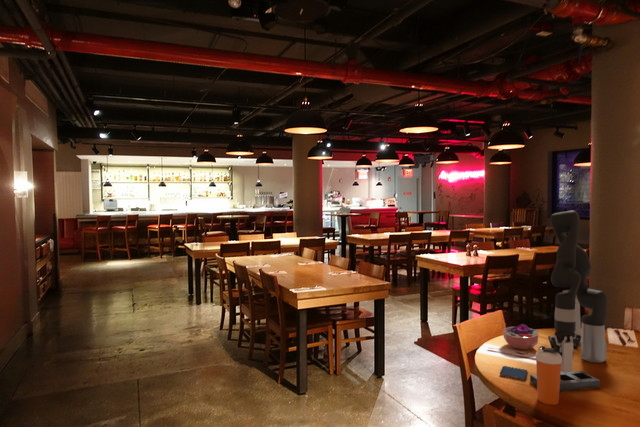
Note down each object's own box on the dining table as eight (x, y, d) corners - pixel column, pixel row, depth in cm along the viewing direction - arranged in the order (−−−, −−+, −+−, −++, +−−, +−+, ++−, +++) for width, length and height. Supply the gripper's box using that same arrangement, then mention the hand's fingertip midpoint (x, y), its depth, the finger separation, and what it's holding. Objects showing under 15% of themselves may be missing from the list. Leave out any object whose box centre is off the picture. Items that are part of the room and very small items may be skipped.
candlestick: (590, 338, 235) (591, 283, 234) (591, 345, 224) (592, 287, 223) (563, 334, 241) (564, 281, 240) (563, 341, 230) (563, 285, 229)
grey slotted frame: (580, 377, 184) (581, 370, 184) (599, 387, 174) (599, 380, 174) (530, 381, 180) (530, 374, 180) (546, 392, 170) (546, 385, 170)
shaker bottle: (560, 408, 158) (561, 354, 157) (533, 402, 162) (534, 350, 162) (562, 398, 165) (562, 347, 164) (536, 393, 170) (536, 343, 169)
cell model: (495, 348, 221) (495, 326, 220) (512, 339, 234) (512, 318, 234) (529, 356, 208) (529, 333, 208) (545, 347, 222) (546, 325, 221)
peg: (565, 367, 179) (565, 339, 179) (572, 371, 175) (572, 342, 175) (556, 368, 179) (557, 340, 178) (563, 372, 175) (564, 343, 174)
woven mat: (526, 382, 180) (526, 378, 180) (499, 377, 186) (499, 373, 186) (528, 373, 189) (528, 369, 189) (502, 369, 195) (502, 364, 195)
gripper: (573, 315, 181) (573, 355, 182) (543, 317, 179) (542, 358, 179) (587, 320, 174) (586, 362, 174) (556, 322, 171) (555, 364, 172)
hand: (564, 359), depth 177 cm, fingers closed on peg, 4 cm apart
